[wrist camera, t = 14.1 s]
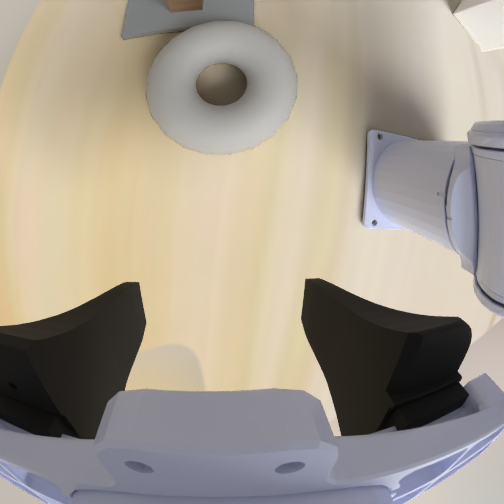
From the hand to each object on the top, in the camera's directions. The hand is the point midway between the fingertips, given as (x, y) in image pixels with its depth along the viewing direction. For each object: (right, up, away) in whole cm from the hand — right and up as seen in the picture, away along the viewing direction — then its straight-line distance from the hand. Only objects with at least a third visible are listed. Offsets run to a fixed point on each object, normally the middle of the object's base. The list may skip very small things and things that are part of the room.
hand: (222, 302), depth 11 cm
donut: (-5, +10, +4) cm, 11 cm away
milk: (+28, +30, +3) cm, 41 cm away
